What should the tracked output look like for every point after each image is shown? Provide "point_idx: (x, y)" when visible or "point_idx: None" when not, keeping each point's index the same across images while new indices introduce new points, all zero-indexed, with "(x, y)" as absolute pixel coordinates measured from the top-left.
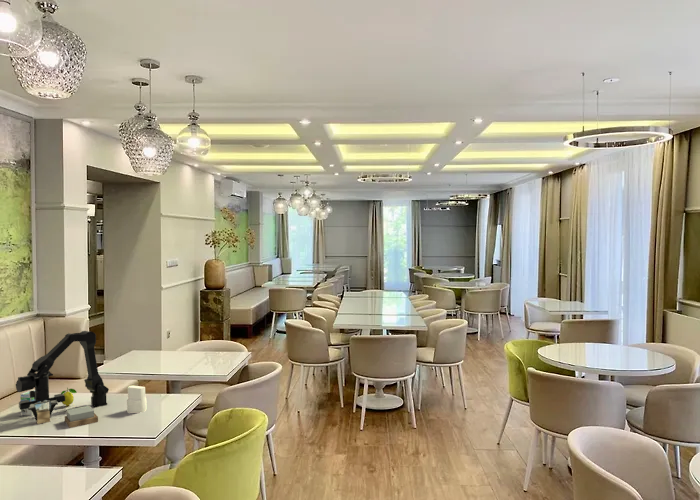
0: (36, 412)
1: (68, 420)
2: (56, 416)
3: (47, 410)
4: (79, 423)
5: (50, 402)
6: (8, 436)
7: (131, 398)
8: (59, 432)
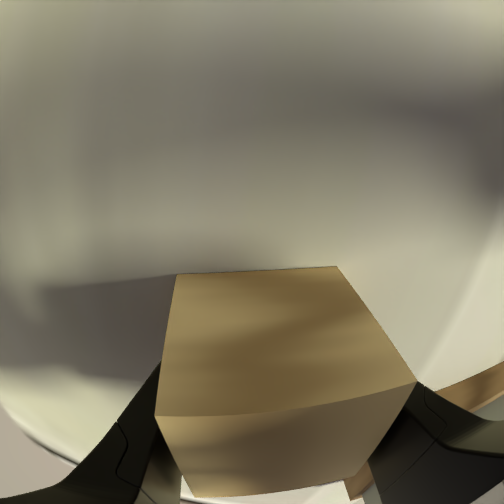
0: (174, 446)
1: (368, 485)
2: (431, 230)
3: (351, 459)
4: None
5: (489, 490)
6: (45, 449)
7: None
8: (287, 499)
